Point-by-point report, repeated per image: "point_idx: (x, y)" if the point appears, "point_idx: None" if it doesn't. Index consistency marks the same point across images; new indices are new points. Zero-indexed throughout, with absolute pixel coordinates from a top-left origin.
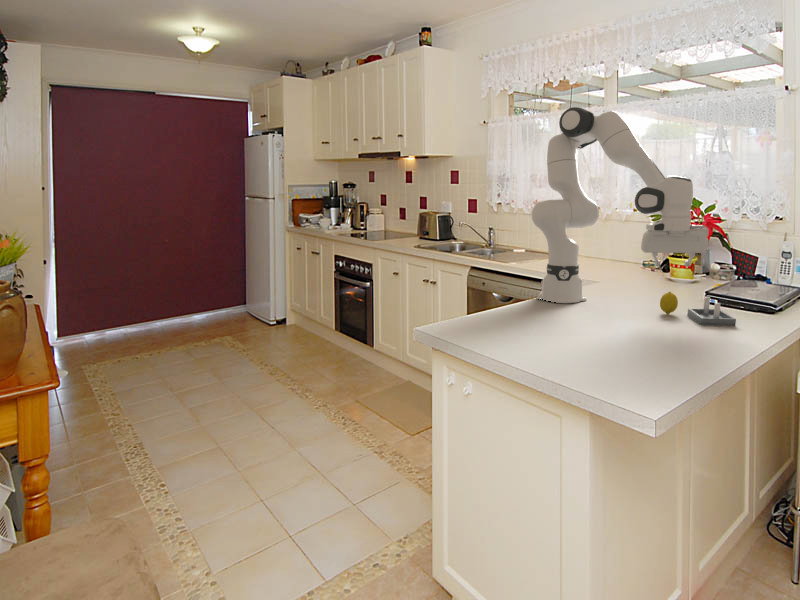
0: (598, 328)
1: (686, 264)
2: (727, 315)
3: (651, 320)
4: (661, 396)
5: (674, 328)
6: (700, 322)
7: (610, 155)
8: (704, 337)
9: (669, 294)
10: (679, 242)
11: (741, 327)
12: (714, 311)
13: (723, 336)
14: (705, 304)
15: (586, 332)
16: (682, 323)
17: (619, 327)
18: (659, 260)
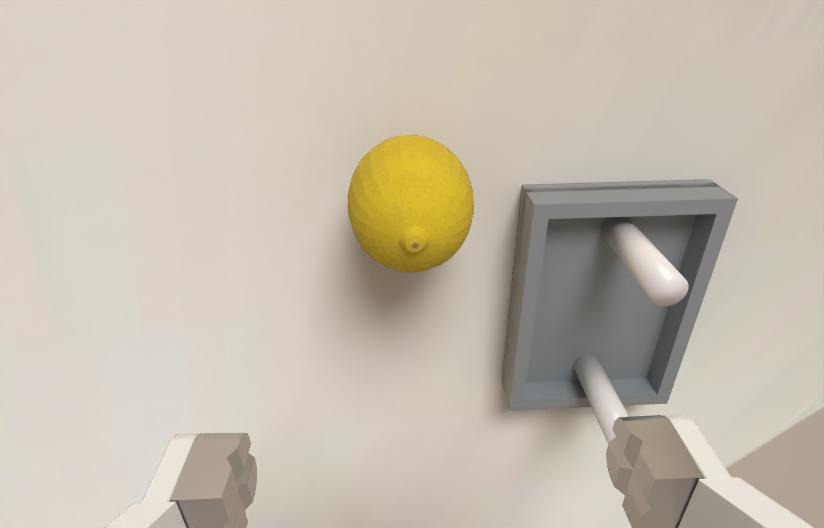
0: (54, 473)
1: (622, 488)
2: (674, 343)
3: (287, 323)
4: None
5: (371, 430)
6: (505, 384)
7: None
8: (448, 509)
9: (405, 264)
10: None
11: None
12: (592, 407)
13: (522, 491)
14: (631, 272)
15: (24, 519)
16: (431, 354)
17: (139, 449)
18: (223, 508)
